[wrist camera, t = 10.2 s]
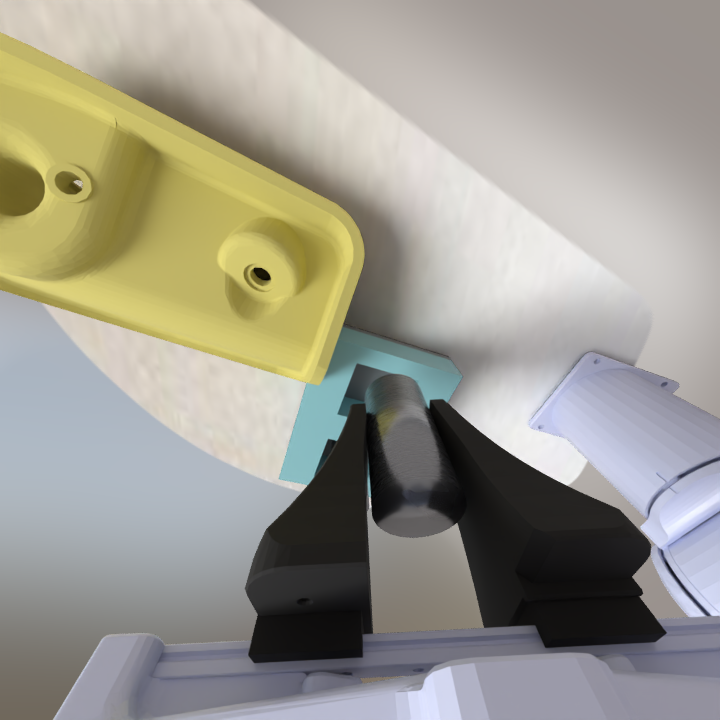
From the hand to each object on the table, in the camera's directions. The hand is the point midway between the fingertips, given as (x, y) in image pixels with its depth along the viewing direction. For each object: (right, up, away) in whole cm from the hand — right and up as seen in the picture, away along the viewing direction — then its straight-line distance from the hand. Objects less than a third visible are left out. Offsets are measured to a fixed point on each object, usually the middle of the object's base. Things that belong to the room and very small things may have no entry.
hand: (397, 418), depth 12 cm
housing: (-2, -1, +10) cm, 10 cm away
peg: (0, +1, +1) cm, 2 cm away
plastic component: (-12, +10, +4) cm, 16 cm away
